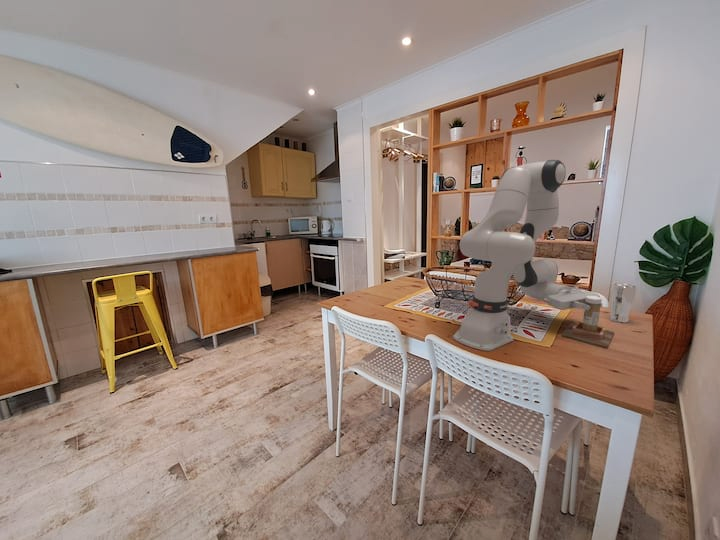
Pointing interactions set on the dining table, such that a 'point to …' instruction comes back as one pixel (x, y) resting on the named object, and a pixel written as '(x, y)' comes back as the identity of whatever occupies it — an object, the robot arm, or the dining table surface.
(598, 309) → the sprinkles bottle
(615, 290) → the beer glass
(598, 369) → the dining table surface
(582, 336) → the tube stand
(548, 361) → the dining table surface
